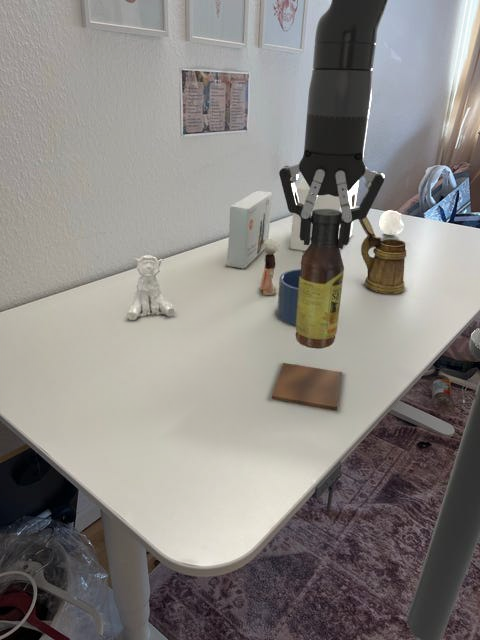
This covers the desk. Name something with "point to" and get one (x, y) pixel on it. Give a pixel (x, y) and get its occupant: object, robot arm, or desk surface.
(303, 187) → the gable box
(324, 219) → the sauce bottle
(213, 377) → the desk surface
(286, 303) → the blue cup
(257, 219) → the skincare box
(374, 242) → the wooden mug
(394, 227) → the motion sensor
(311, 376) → the wooden coaster
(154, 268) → the sitting furry creature
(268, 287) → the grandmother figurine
